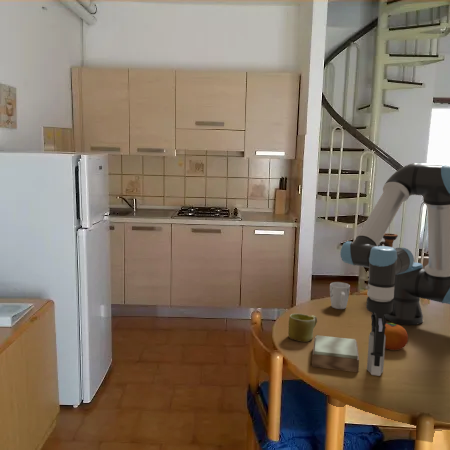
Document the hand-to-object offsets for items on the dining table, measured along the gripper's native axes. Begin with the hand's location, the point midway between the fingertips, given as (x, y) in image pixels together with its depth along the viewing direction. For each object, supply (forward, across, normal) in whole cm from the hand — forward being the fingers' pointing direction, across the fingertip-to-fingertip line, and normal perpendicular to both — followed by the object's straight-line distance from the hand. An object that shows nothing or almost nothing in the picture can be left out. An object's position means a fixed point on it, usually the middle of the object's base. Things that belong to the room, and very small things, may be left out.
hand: (374, 370), depth 139 cm
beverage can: (+1, 0, 0) cm, 1 cm away
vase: (0, -79, +11) cm, 80 cm away
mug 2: (+1, -57, -10) cm, 58 cm away
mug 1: (+1, -21, -23) cm, 31 cm away
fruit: (+1, -20, +7) cm, 21 cm away
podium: (0, -5, -12) cm, 13 cm away
